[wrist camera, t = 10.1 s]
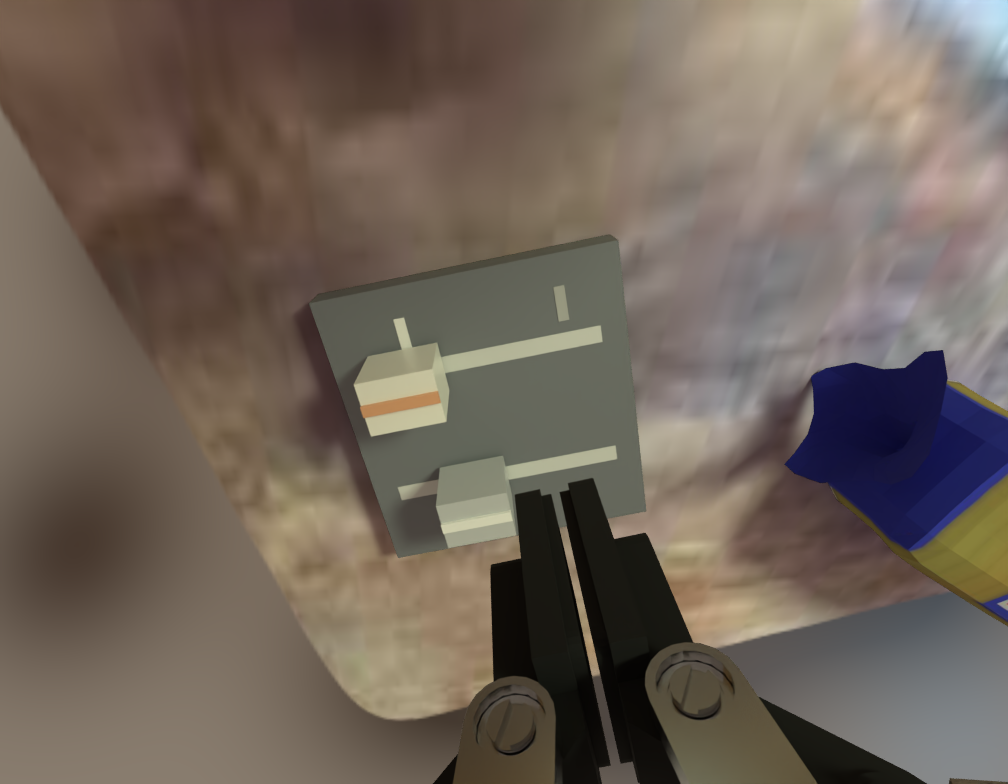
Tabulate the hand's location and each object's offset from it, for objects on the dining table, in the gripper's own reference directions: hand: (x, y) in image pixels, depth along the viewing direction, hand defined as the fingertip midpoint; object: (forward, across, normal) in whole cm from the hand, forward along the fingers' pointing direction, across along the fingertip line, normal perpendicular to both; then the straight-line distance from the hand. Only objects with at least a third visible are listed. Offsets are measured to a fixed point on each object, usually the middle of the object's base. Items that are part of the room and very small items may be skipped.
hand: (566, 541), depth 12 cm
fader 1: (+20, +7, +3) cm, 21 cm away
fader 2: (+20, +5, +11) cm, 23 cm away
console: (+22, +3, +7) cm, 24 cm away
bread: (+23, -26, +20) cm, 40 cm away
